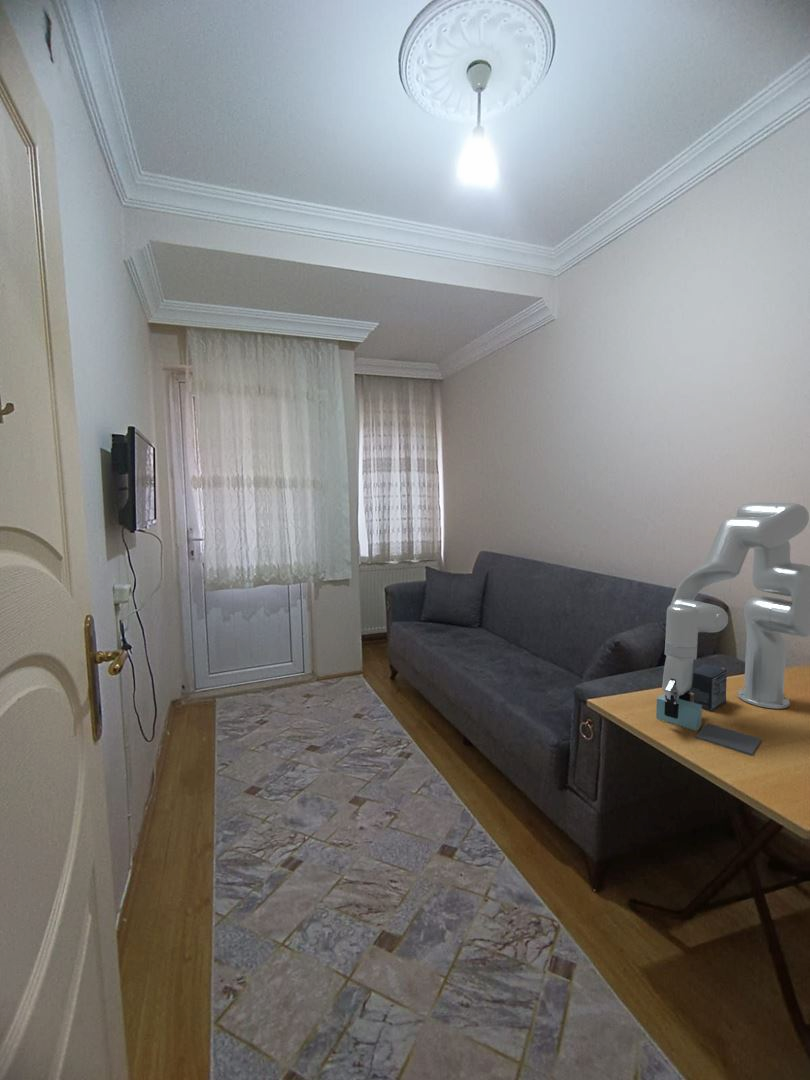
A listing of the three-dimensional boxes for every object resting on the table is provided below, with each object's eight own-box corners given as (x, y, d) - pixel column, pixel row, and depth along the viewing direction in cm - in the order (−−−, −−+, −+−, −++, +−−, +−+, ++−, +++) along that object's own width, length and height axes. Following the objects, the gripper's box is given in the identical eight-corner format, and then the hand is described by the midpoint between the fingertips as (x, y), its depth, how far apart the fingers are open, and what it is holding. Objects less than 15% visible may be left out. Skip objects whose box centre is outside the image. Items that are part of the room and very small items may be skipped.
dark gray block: (707, 724, 130) (707, 722, 130) (761, 740, 121) (761, 738, 121) (695, 737, 123) (695, 735, 123) (752, 755, 115) (752, 753, 115)
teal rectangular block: (661, 714, 137) (662, 694, 136) (700, 726, 129) (701, 705, 129) (656, 719, 134) (656, 698, 134) (696, 731, 127) (697, 709, 126)
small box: (703, 695, 149) (704, 662, 148) (726, 702, 144) (728, 668, 143) (687, 704, 143) (689, 670, 142) (711, 712, 137) (713, 676, 136)
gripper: (676, 641, 138) (673, 698, 140) (653, 654, 127) (650, 716, 128) (706, 647, 133) (702, 706, 134) (685, 661, 121) (681, 726, 123)
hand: (677, 711), depth 131 cm, fingers open, 9 cm apart
